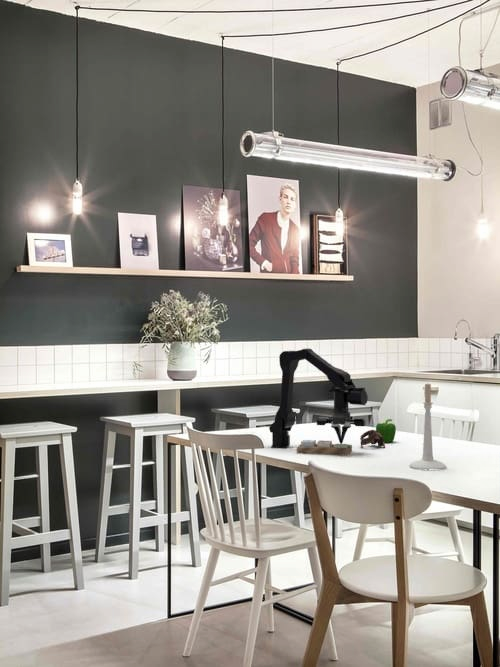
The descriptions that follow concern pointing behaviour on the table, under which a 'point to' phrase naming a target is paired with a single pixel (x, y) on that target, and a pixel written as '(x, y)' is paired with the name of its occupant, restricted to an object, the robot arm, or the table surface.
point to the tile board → (324, 450)
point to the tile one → (308, 443)
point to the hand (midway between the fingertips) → (341, 443)
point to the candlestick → (427, 439)
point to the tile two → (324, 443)
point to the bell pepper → (386, 431)
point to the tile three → (341, 446)
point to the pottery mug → (372, 438)
